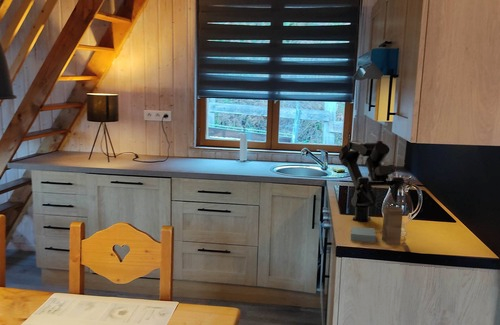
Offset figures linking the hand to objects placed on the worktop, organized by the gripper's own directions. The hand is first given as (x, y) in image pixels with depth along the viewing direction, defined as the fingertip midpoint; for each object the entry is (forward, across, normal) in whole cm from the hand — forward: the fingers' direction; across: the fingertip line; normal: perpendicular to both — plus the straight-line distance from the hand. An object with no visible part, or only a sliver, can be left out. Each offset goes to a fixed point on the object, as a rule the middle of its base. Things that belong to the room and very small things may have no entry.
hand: (384, 202), depth 174 cm
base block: (+11, -9, +8) cm, 17 cm away
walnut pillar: (+15, 0, +4) cm, 15 cm away
